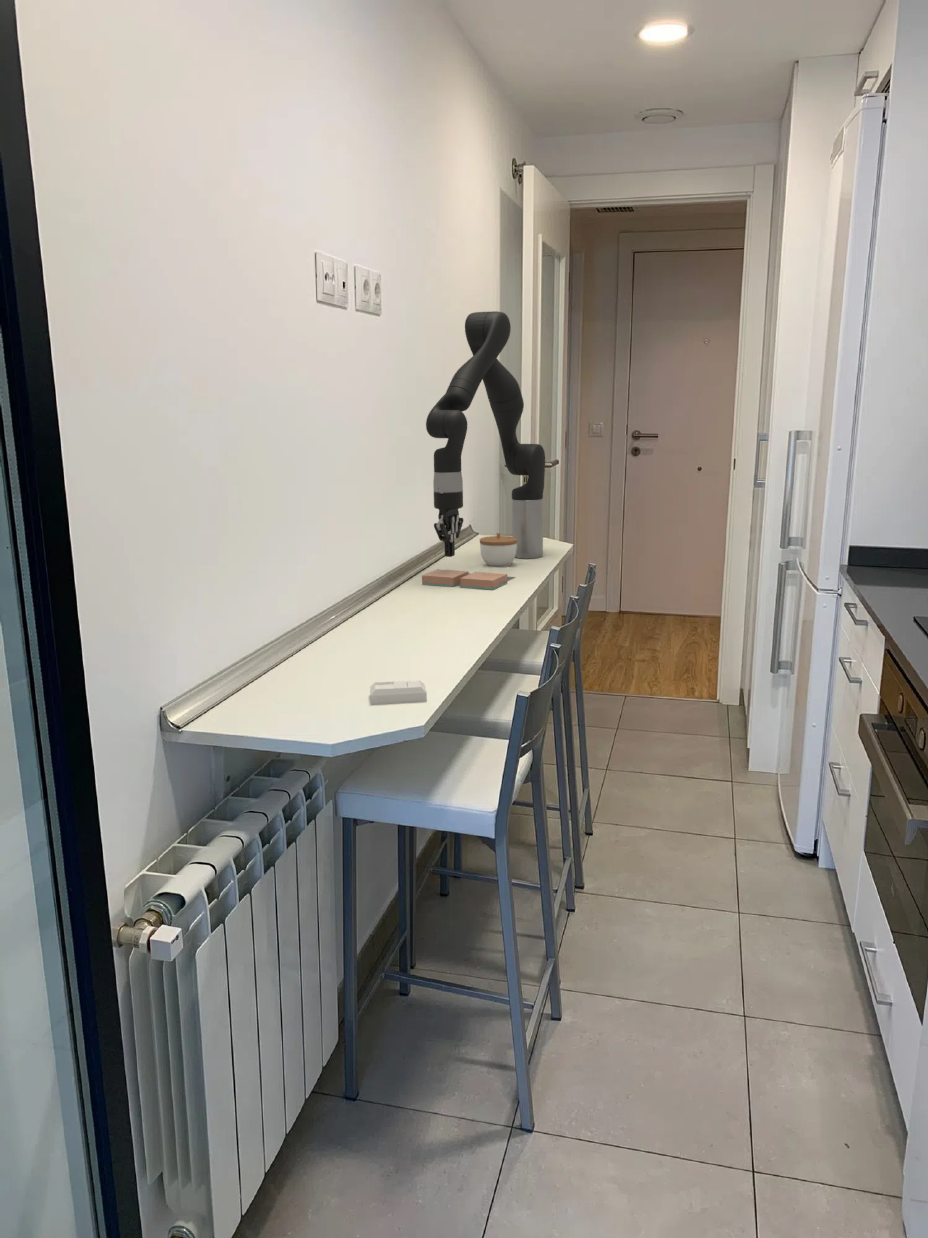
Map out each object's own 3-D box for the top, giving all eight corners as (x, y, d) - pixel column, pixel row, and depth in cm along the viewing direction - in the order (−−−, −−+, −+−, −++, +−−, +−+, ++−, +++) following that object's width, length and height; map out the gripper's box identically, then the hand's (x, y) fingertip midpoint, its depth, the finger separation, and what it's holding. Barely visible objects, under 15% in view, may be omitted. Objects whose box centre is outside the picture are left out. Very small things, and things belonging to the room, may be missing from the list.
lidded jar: (518, 568, 264) (518, 535, 262) (479, 569, 264) (479, 536, 262) (516, 562, 275) (516, 530, 272) (480, 562, 275) (479, 530, 273)
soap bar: (426, 703, 153) (426, 687, 153) (371, 706, 152) (370, 690, 152) (424, 694, 158) (424, 678, 157) (370, 697, 157) (369, 681, 156)
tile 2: (475, 571, 246) (460, 578, 238) (507, 574, 242) (492, 580, 234) (475, 580, 246) (460, 587, 239) (507, 583, 243) (493, 590, 235)
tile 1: (437, 569, 251) (421, 575, 243) (468, 571, 247) (453, 577, 239) (438, 578, 251) (422, 584, 243) (468, 580, 247) (453, 586, 239)
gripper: (446, 486, 250) (448, 551, 254) (423, 491, 238) (425, 559, 242) (472, 487, 246) (473, 553, 250) (449, 492, 235) (451, 561, 239)
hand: (449, 556), depth 246 cm, fingers closed
